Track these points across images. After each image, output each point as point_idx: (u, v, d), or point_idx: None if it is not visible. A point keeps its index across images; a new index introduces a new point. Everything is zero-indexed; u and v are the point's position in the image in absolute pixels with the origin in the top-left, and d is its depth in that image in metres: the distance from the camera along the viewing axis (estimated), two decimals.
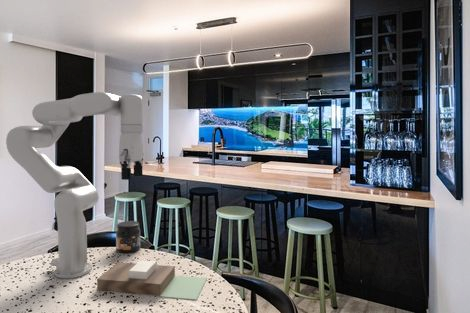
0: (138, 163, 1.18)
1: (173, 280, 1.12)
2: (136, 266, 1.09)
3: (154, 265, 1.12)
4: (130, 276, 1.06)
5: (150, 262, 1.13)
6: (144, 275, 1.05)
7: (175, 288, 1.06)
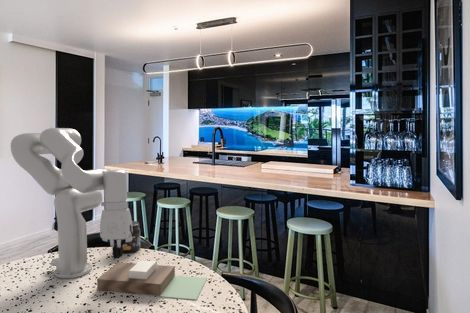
0: (115, 242, 1.10)
1: (173, 280, 1.12)
2: (136, 266, 1.09)
3: (154, 265, 1.12)
4: (130, 276, 1.06)
5: (150, 262, 1.13)
6: (144, 275, 1.05)
7: (175, 288, 1.06)
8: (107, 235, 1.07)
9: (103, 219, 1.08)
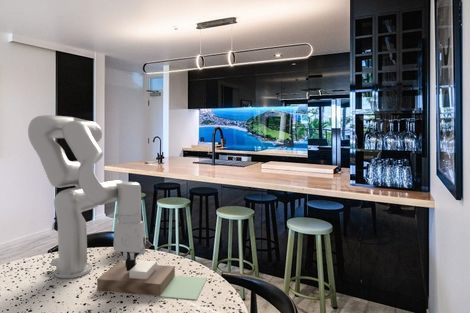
0: (128, 254, 1.10)
1: (173, 280, 1.12)
2: (136, 266, 1.09)
3: (154, 265, 1.12)
4: (130, 276, 1.06)
5: (151, 262, 1.13)
6: (144, 275, 1.05)
7: (175, 288, 1.06)
8: (121, 248, 1.07)
9: (117, 231, 1.07)
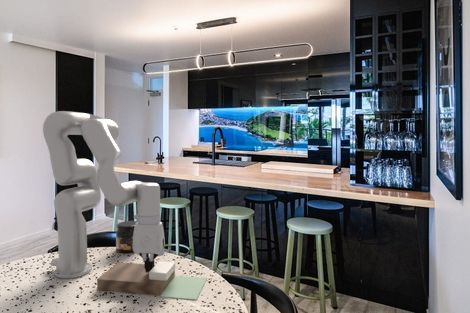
0: (147, 256, 1.09)
1: (173, 280, 1.12)
2: (156, 267, 1.08)
3: (173, 266, 1.11)
4: (150, 277, 1.05)
5: (169, 263, 1.12)
6: (164, 276, 1.04)
7: (175, 288, 1.06)
8: (140, 249, 1.06)
9: (136, 232, 1.06)
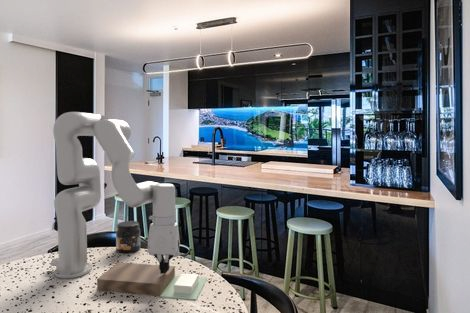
0: (162, 257, 1.09)
1: (173, 280, 1.12)
2: None
3: None
4: (190, 288, 1.03)
5: None
6: (175, 288, 1.04)
7: None
8: (155, 250, 1.06)
9: (151, 233, 1.06)
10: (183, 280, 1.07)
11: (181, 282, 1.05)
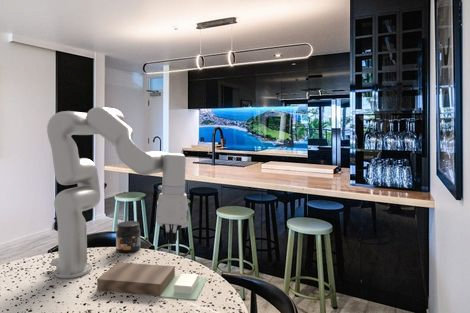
0: (170, 227, 1.08)
1: (173, 280, 1.12)
2: None
3: None
4: (190, 288, 1.03)
5: None
6: (175, 288, 1.04)
7: None
8: (164, 220, 1.05)
9: (160, 203, 1.04)
10: (183, 280, 1.07)
11: (181, 282, 1.05)
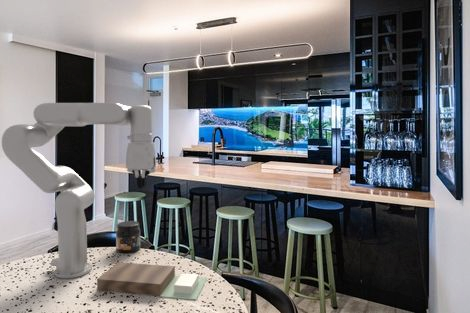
0: (139, 174, 1.18)
1: (173, 280, 1.12)
2: None
3: None
4: (190, 288, 1.03)
5: None
6: (175, 288, 1.04)
7: None
8: (133, 165, 1.15)
9: (129, 150, 1.15)
10: (183, 280, 1.07)
11: (181, 282, 1.05)
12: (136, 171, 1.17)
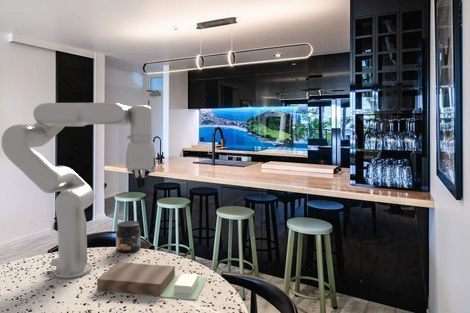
0: (139, 174, 1.18)
1: (173, 280, 1.12)
2: None
3: None
4: (190, 288, 1.03)
5: None
6: (175, 288, 1.04)
7: None
8: (133, 165, 1.15)
9: (129, 150, 1.15)
10: (183, 280, 1.07)
11: (181, 282, 1.05)
12: (136, 171, 1.17)
